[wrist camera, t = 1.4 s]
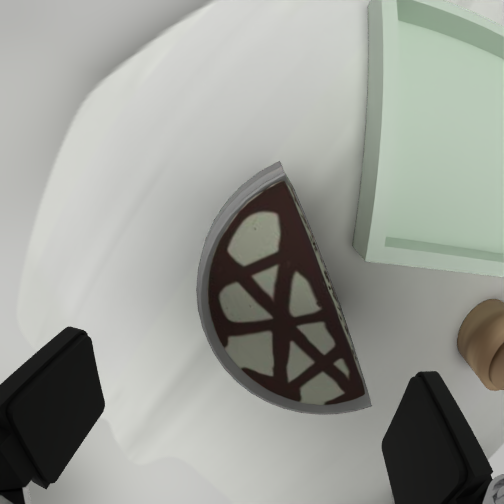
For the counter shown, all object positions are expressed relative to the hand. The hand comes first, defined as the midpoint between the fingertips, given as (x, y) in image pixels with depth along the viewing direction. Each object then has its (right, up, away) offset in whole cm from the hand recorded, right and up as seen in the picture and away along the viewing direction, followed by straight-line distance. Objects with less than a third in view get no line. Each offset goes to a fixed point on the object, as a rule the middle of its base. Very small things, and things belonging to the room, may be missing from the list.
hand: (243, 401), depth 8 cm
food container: (+2, +3, +14) cm, 15 cm away
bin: (+17, +12, +10) cm, 23 cm away
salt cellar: (+21, -3, +14) cm, 25 cm away
